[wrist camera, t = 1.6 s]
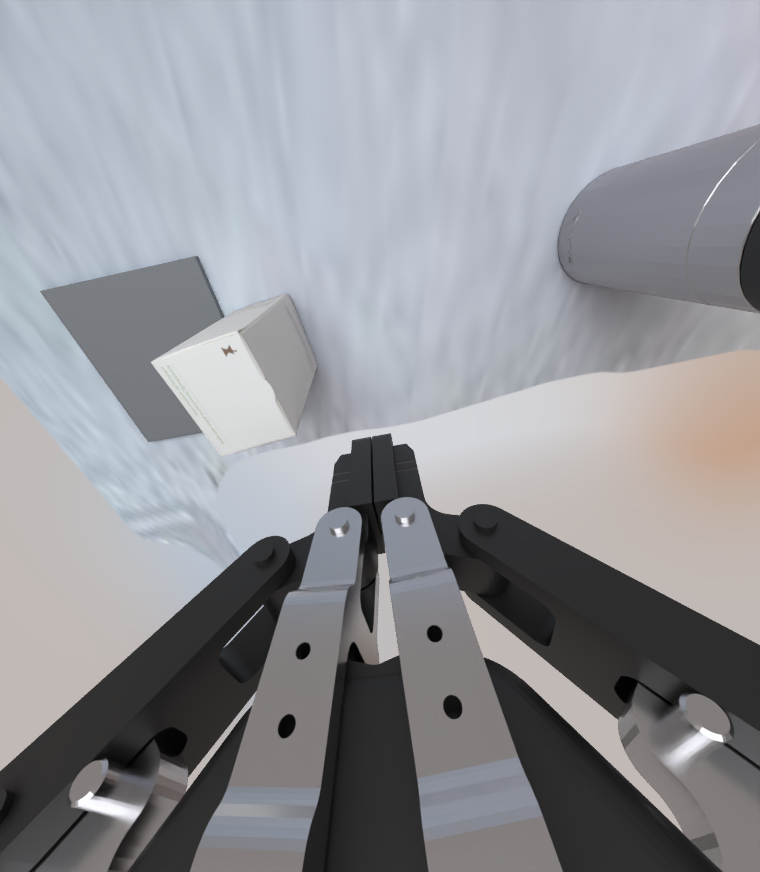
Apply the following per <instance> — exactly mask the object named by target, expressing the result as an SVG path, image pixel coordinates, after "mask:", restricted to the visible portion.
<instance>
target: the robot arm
mask: <svg viewBox="0 0 760 872" xmlns="http://www.w3.org/2000/svg"><path fill="white" fill-rule="evenodd" d="M558 253H559V258H560V262H561V265H562V267H563V269H564V271H565V272H566V273H567V274H568V275H569V276H570V277H571V278H573V279H574V280H576V281H579V282H582V283H586V284H592V285H598V286H603V287H608V288H614V289H620V290H625V291H631V292H637V293H643V294H649V295H655V296H660V297H666V298H672V299H678V300H684V301H690V302H695V303H701V304H707V305H713V306H720V307H726V308H732V309H738V310H743V311H749V312H755V313H760V124H759V125H756V126H752V127H749V128H746V129H743V130H739V131H736V132H733V133H730V134H726V135H723V136H720V137H717V138H713V139H710V140H707V141H704V142H700V143H697V144H694V145H691V146H687V147H684V148H681V149H678V150H674V151H671V152H668V153H665V154H661V155H658V156H655V157H651V158H647V159H644V160H641V161H638V162H634V163H631V164H628V165H625V166H622V167H618V168H615V169H613V170H610V171H608V172H606V173H604V174H602V175H600V176H599V177H598V178H596V179H595V180H593V181H592V182H591V183H590V184H589V185H588V186H587V187H586V188H585V189H584V190H582V191H581V193H580V194H579V195H578V197H577V198H576V199H575V201H574V202H573V203H572V205H571V207H570V209H569V210H568V212H567V214H566V216H565V219H564V221H563V224H562V227H561V230H560V235H559V240H558ZM333 475H334V476H333V480H332V486H331V494H330V501H329V507H328V513H326V514H325V515H324V516H323V517H322V518H321V519H320V520H319V522H318V524H317V526H316V530H315V532H314V533H312V534H310V535H309V536H307V537H304V538H302V539H300V540H297V541H295V542H293V543H291V544H289V543H288V541H287V540H286V539H285V538H283V537H280V536H270V537H267V538H264V539H262V540H260V541H258V542H256V543H255V544H254V545H252V546H251V547H250V548H249V549H248V550H247V551H246V552H244V553H243V554H242V555H241V556H240V557H239V558H238V559H237V560H236V561H234V562H233V563H232V564H231V565H230V566H229V567H228V568H227V569H225V570H224V571H223V572H222V573H221V574H220V575H219V576H218V577H217V578H215V579H214V580H213V581H212V582H211V583H210V584H209V585H208V586H207V587H205V588H204V589H203V590H202V591H201V592H200V593H199V594H198V595H197V596H195V597H194V598H193V599H192V600H191V601H190V602H189V603H188V604H186V605H185V606H184V607H183V608H182V609H181V610H180V611H179V612H178V613H176V614H175V615H174V616H173V617H172V618H171V619H170V620H169V621H168V622H166V623H165V624H164V625H163V626H162V627H161V628H160V629H159V630H158V631H156V632H155V633H154V634H153V635H152V636H151V637H150V638H149V639H147V640H146V641H145V642H144V643H143V644H142V645H141V646H140V647H139V648H137V649H136V650H135V651H134V652H133V653H132V654H131V655H130V656H128V657H127V658H126V659H125V660H124V661H123V662H122V663H121V664H120V665H119V666H117V667H116V668H115V669H114V670H113V671H112V672H111V673H110V674H108V675H107V676H106V677H105V678H104V679H103V680H102V681H101V682H99V684H98V685H96V686H95V687H94V688H93V689H92V690H91V691H89V692H88V693H87V694H86V695H85V696H84V697H83V698H82V699H81V700H79V701H78V702H77V703H76V704H75V705H74V706H73V707H72V708H70V709H69V710H68V711H67V712H66V713H65V714H64V715H63V716H62V717H60V718H59V719H58V720H57V721H56V722H55V723H54V724H53V725H51V726H50V727H49V728H48V729H47V730H46V731H45V732H44V733H43V734H41V735H40V736H39V737H38V738H37V739H36V740H35V741H34V742H33V743H31V744H30V745H29V746H28V747H27V748H26V749H25V750H24V751H22V752H21V753H20V754H19V755H18V756H17V757H16V758H15V759H14V760H12V761H11V762H10V763H9V764H8V765H7V766H6V767H5V768H4V769H2V770H1V771H0V872H760V645H758V644H757V643H755V642H753V641H751V640H749V639H747V638H745V637H743V636H741V635H739V634H737V633H736V632H733V631H732V630H730V629H728V628H726V627H724V626H722V625H720V624H719V623H716V622H715V621H713V620H711V619H709V618H707V617H705V616H703V615H701V614H699V613H698V612H696V611H694V610H692V609H690V608H688V607H686V606H684V605H682V604H681V603H679V602H677V601H675V600H673V599H671V598H669V597H667V596H665V595H663V594H662V593H660V592H658V591H656V590H654V589H652V588H650V587H648V586H646V585H644V584H643V583H641V582H639V581H637V580H635V579H633V578H631V577H629V576H627V575H625V574H624V573H622V572H620V571H618V570H615V569H614V568H612V567H610V566H608V565H607V564H605V563H603V562H601V561H599V560H597V559H595V558H593V557H591V556H589V555H587V554H586V553H583V552H582V551H580V550H578V549H576V548H574V547H572V546H570V545H569V544H567V543H565V542H563V541H561V540H559V539H557V538H555V537H553V536H551V535H549V534H548V533H546V532H544V531H542V530H540V529H538V528H536V527H534V526H532V525H530V524H529V523H527V522H525V521H523V520H521V519H519V518H517V517H515V516H513V515H512V514H510V513H508V512H506V511H504V510H502V509H500V508H498V507H496V506H492V505H486V504H478V505H473V506H471V507H468V508H467V509H465V510H464V511H463V512H462V513H461V515H460V516H459V515H450V514H444V513H440V512H438V511H436V510H434V509H432V508H431V507H430V506H429V505H428V504H427V503H426V501H425V498H424V494H423V490H422V486H421V482H420V477H419V473H418V469H417V464H416V460H415V455H414V451H413V450H412V449H411V448H410V447H409V446H408V445H407V444H402V445H396V446H393V442H392V437H391V434H385V435H379V436H373V437H372V438H371V437H368V438H363V439H357V440H352V450H351V453H350V454H345V455H341V456H340V457H339V459H338V460H337V462H336V463H335V466H334V473H333ZM385 548H386V554H387V561H388V567H389V575H390V580H389V587H390V595H391V602H392V608H393V616H394V622H395V628H396V636H397V643H398V650H399V656H397V657H394V658H392V659H390V660H388V661H385V662H383V663H381V664H379V653H378V647H377V621H378V596H379V573H378V554H382V553H385ZM460 590H462V591H465V593H466V594H467V595H468V597H469V598H471V600H472V601H474V602H475V603H476V604H477V605H479V606H480V607H481V608H483V609H484V610H485V611H486V612H487V613H488V614H490V615H491V616H492V617H493V618H495V619H496V620H497V621H498V622H499V623H501V624H502V625H503V626H504V627H506V628H507V629H508V630H509V631H510V632H512V633H513V634H514V635H515V636H516V637H518V638H519V639H520V640H521V641H523V642H524V643H525V644H526V645H527V646H529V647H530V648H531V649H533V650H534V651H535V652H536V653H537V654H538V655H540V656H541V657H542V658H543V659H545V660H546V661H547V662H548V663H550V664H551V665H552V666H553V667H554V668H556V669H557V670H558V671H559V672H561V673H562V674H563V675H564V676H565V677H566V678H568V679H569V680H570V681H571V682H573V683H574V684H575V685H576V686H577V687H579V688H580V689H581V690H582V691H584V692H585V693H586V694H587V695H589V696H590V697H591V698H592V699H593V700H595V701H596V702H597V703H598V704H600V705H601V706H602V707H603V708H604V709H606V710H607V711H608V712H609V713H610V714H612V715H613V716H614V717H615V718H617V719H618V729H619V735H620V739H621V742H622V745H623V747H624V750H625V752H626V754H627V755H628V757H629V759H630V761H631V762H632V764H633V765H634V767H635V768H636V770H637V771H638V772H639V773H640V775H641V776H642V777H643V778H644V779H645V780H646V781H647V782H648V783H649V784H650V785H651V786H652V788H653V789H654V790H655V791H656V792H657V793H658V794H659V795H660V796H661V798H662V799H663V800H664V801H665V802H666V804H667V805H668V807H669V808H670V810H671V811H672V813H673V814H674V816H675V818H676V820H677V821H678V823H679V825H680V827H681V829H682V831H683V833H684V834H683V833H682V832H681V831H680V830H679V829H678V828H677V827H676V826H675V825H674V824H673V823H672V822H671V821H669V819H668V818H666V817H665V816H664V815H663V814H662V813H661V812H660V811H659V810H658V809H657V808H656V807H655V806H654V805H653V804H652V803H651V802H649V800H648V799H647V798H646V797H645V796H643V795H642V794H641V793H640V792H639V791H638V790H637V789H636V788H635V787H634V786H633V785H632V784H631V783H630V782H629V781H628V780H627V779H626V778H625V777H624V776H623V775H622V774H621V773H619V771H617V770H616V769H615V768H614V767H613V766H612V765H611V764H610V763H609V762H608V761H607V760H606V759H605V758H604V757H603V756H602V755H601V754H600V753H599V752H598V751H597V750H596V749H595V748H594V747H593V746H591V745H590V744H589V743H588V742H587V741H586V740H585V739H584V738H583V737H582V736H581V735H580V734H579V733H578V732H577V731H576V730H575V729H574V728H573V727H572V726H571V725H570V724H569V723H568V722H567V721H565V720H564V719H563V718H562V717H561V716H560V715H559V714H558V713H557V712H556V711H555V710H554V709H553V708H552V707H551V706H550V705H549V704H548V703H547V702H546V701H545V700H544V699H543V698H542V697H541V696H539V695H538V694H537V693H536V692H535V691H534V690H533V689H532V688H531V687H530V686H529V685H528V684H527V683H526V682H524V681H523V680H522V679H521V678H519V677H518V676H517V675H516V674H514V673H513V672H511V671H510V670H508V669H507V668H505V667H503V666H502V665H500V664H498V663H496V662H494V661H492V660H489V659H487V658H483V655H482V652H481V650H480V647H479V644H478V641H477V638H476V635H475V633H474V630H473V627H472V624H471V621H470V618H469V615H468V613H467V610H466V607H465V604H464V601H463V599H462V596H461V593H460ZM262 605H264V606H263V608H262V609H261V610H260V611H259V612H258V613H257V614H256V615H255V616H254V617H253V618H252V619H251V621H250V622H249V623H248V624H247V625H246V626H245V627H244V628H243V629H242V630H241V631H240V632H239V633H238V635H237V636H236V637H235V638H234V639H233V640H232V641H231V642H230V643H229V644H228V645H227V646H226V647H224V646H225V645H226V644H227V643H228V642H229V640H230V639H231V638H232V637H233V636H234V635H235V634H236V633H237V632H238V631H239V630H240V629H241V628H242V627H243V625H244V624H245V623H246V622H247V621H248V620H249V619H250V618H251V617H252V616H253V615H254V614H255V612H256V611H257V610H258V609H259V608H260V607H261V606H262ZM256 691H257V692H256ZM255 692H256V695H255V699H254V702H253V705H252V706H251V707H250V709H248V711H247V712H246V713H245V714H244V715H243V717H242V718H241V719H240V720H239V722H238V723H237V724H236V726H235V727H234V729H233V730H232V731H231V732H230V734H229V735H228V736H227V738H226V739H225V740H224V742H223V743H222V745H221V746H220V747H219V749H218V750H217V751H216V753H215V754H214V755H213V757H212V758H211V759H210V761H209V762H208V763H207V765H206V766H205V767H204V769H203V770H202V771H201V773H200V774H199V776H198V777H197V778H196V780H195V781H194V782H193V784H192V785H191V786H190V788H189V789H188V790H187V792H186V788H187V782H188V777H189V775H190V774H191V773H192V772H193V770H194V769H195V768H196V766H197V765H198V764H199V763H200V762H201V760H202V759H203V758H204V757H205V755H206V754H207V753H208V751H209V750H210V749H211V748H212V746H213V745H214V744H215V743H216V741H217V740H218V739H219V738H220V736H221V735H222V734H223V732H224V731H225V730H226V729H227V727H228V726H229V725H230V724H231V722H232V721H233V720H234V718H235V717H236V716H237V715H238V713H239V712H240V711H241V710H242V708H243V707H244V706H245V705H246V703H247V702H248V701H249V699H250V698H251V697H252V696H253V694H254V693H255Z"/></svg>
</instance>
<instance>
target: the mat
mask: <svg viewBox="0 0 760 872" xmlns="http://www.w3.org/2000/svg"><path fill="white" fill-rule="evenodd" d="M40 292H41V293H42V295H43V296H44V298H45V299H46V300H47V302H48V303H49V305H50V306H51V307H52V309H53V310H54V312H55V313H56V314H57V316H58V317H59V318H60V320H61V321H62V323H63V324H64V325H65V327H66V328H67V330H68V331H69V332H70V334H71V335H72V337H73V338H74V339H75V341H76V342H77V344H78V345H79V346H80V348H81V349H82V350H83V352H84V353H85V355H86V356H87V357H88V359H89V360H90V362H91V363H92V364H93V366H94V367H95V369H96V370H97V371H98V373H99V374H100V376H101V377H102V378H103V380H104V381H105V383H106V384H107V385H108V387H109V388H110V389H111V391H112V392H113V394H114V395H115V396H116V398H117V399H118V401H119V402H120V403H121V405H122V406H123V408H124V409H125V410H126V412H127V413H128V415H129V416H130V417H131V419H132V420H133V421H134V423H135V424H136V426H137V427H138V428H139V430H140V431H141V433H142V434H143V435H144V437H145V438H146V440H147V441H148V442H151V441H157V440H162V439H168V438H173V437H179V436H184V435H189V434H195V433H200V432H202V430H201V429H200V428H199V426H198V425H197V424H196V422H195V421H194V420H193V418H192V417H191V416H190V414H189V413H188V411H187V410H186V409H185V407H184V406H183V405H182V403H181V402H180V401H179V399H178V398H177V397H176V395H175V394H174V393H173V391H172V390H171V389H170V387H169V386H168V385H167V383H166V382H165V381H164V379H163V378H162V377H161V375H160V374H159V373H158V371H157V370H156V369H155V367H154V366H153V365H152V363H151V362H152V361H153V360H155V359H156V358H158V357H160V356H161V355H163V354H165V353H166V352H168V351H170V350H171V349H173V348H174V347H176V346H178V345H179V344H181V343H183V342H184V341H186V340H188V339H189V338H191V337H193V336H194V335H196V334H197V333H199V332H201V331H202V330H204V329H206V328H207V327H209V326H211V325H212V324H214V323H216V322H217V321H219V320H221V319H222V318H224V316H223V313H222V311H221V309H220V307H219V304H218V302H217V300H216V297H215V295H214V293H213V291H212V288H211V286H210V284H209V281H208V279H207V277H206V275H205V272H204V270H203V268H202V265H201V263H200V261H199V259H198V256H196V257H190V258H186V259H181V260H177V261H173V262H168V263H164V264H159V265H155V266H150V267H146V268H141V269H137V270H132V271H128V272H124V273H119V274H115V275H110V276H106V277H101V278H97V279H92V280H88V281H83V282H79V283H75V284H70V285H66V286H61V287H57V288H52V289H48V290H43V291H40Z"/></svg>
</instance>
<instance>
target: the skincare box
mask: <svg viewBox="0 0 760 872" xmlns="http://www.w3.org/2000/svg"><path fill="white" fill-rule="evenodd" d="M151 363H152V365H153V366H154V367H155V369H156V370H157V371H158V373H159V374H160V375H161V377H162V378H163V379H164V381H165V382H166V383H167V385H168V386H169V387H170V389H171V390H172V391H173V393H174V394H175V395H176V397H177V398H178V399H179V401H180V402H181V403H182V405H183V406H184V407H185V409H186V410H187V411H188V413H189V414H190V416H191V417H192V418H193V420H194V421H195V422H196V424H197V425H198V426H199V428H200V429H201V430H202V432H203V433H204V434H205V436H206V437H207V438H208V440H209V441H210V443H211V444H212V445H213V447H214V448H215V449H216V451H217V452H218V453H219V455H220V456H225V455H229V454H233V453H237V452H240V451H244V450H248V449H251V448H255V447H259V446H262V445H266V444H270V443H273V442H277V441H280V440H284V439H288V438H291V437H295V436H296V434H297V430H298V427H299V424H300V421H301V417H302V414H303V411H304V407H305V404H306V401H307V397H308V394H309V391H310V388H311V384H312V381H313V378H314V375H315V371H316V368H317V365H318V363H317V360H316V358H315V355H314V353H313V351H312V348H311V346H310V343H309V341H308V339H307V336H306V334H305V331H304V329H303V327H302V324H301V322H300V320H299V317H298V315H297V312H296V310H295V308H294V306H293V303H292V301H291V299H290V297H289V295H288V294H284V295H280V296H277V297H274V298H271V299H268V300H265V301H262V302H259V303H256V304H253V305H250V306H247V307H244V308H241V309H239V310H236V311H234V312H232V313H231V314H229V315H227V316H226V317H224V318H222V319H221V320H219V321H217V322H216V323H214V324H212V325H211V326H209V327H207V328H206V329H204V330H202V331H201V332H199V333H197V334H196V335H194V336H193V337H191V338H189V339H188V340H186V341H184V342H183V343H181V344H179V345H178V346H176V347H174V348H173V349H171V350H170V351H168V352H166V353H165V354H163V355H161V356H160V357H158V358H156V359H155V360H153V361H152V362H151Z"/></svg>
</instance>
